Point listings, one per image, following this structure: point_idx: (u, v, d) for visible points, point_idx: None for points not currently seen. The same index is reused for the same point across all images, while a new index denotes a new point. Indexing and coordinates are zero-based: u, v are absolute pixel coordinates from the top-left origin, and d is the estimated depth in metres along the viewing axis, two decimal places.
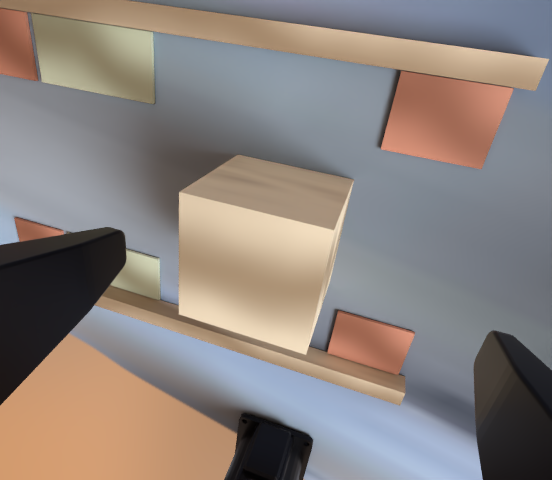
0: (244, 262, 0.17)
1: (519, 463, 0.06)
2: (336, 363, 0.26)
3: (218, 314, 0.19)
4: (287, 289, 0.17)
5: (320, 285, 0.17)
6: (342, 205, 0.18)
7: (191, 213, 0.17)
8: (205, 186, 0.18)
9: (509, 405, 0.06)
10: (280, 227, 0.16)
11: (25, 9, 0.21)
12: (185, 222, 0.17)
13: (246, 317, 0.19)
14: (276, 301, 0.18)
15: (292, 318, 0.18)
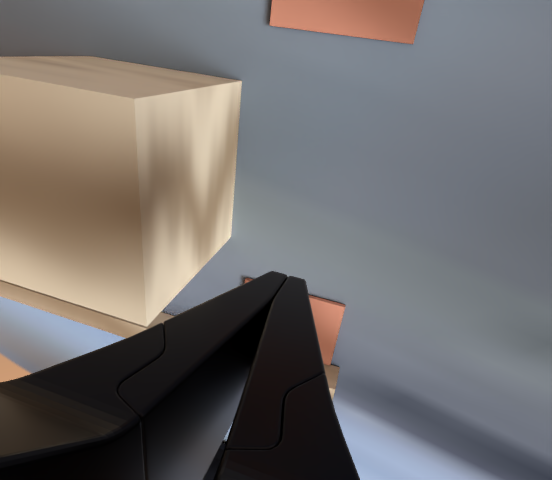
0: (29, 176, 0.11)
1: None
2: None
3: (21, 268, 0.13)
4: (96, 218, 0.11)
5: (139, 206, 0.10)
6: (189, 88, 0.11)
7: None
8: None
9: None
10: (58, 105, 0.10)
11: None
12: None
13: (56, 270, 0.12)
14: (87, 240, 0.11)
15: (114, 266, 0.11)
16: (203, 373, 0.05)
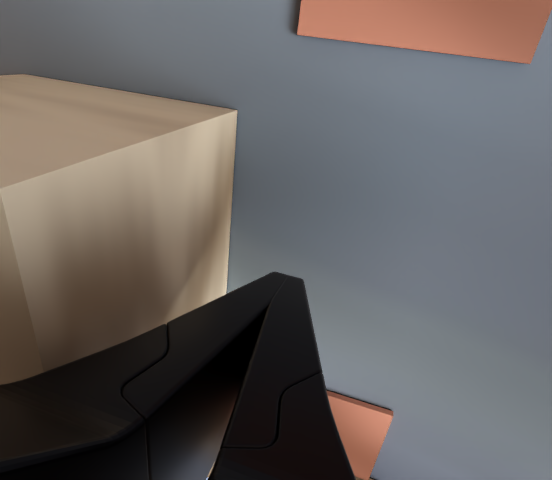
0: None
1: None
2: None
3: None
4: None
5: (41, 370, 0.05)
6: (143, 139, 0.07)
7: None
8: None
9: None
10: None
11: None
12: None
13: None
14: None
15: None
16: (206, 374, 0.05)
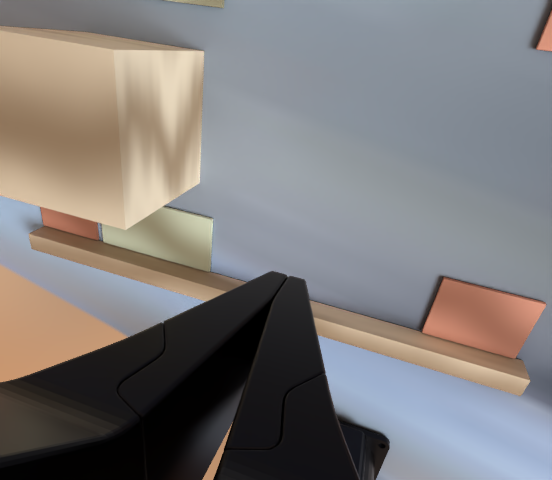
0: (38, 111, 0.15)
1: None
2: (435, 344, 0.21)
3: (31, 188, 0.17)
4: (87, 142, 0.15)
5: (118, 131, 0.14)
6: (157, 50, 0.15)
7: None
8: None
9: None
10: (61, 56, 0.14)
11: None
12: None
13: (57, 188, 0.16)
14: (81, 160, 0.15)
15: (101, 181, 0.16)
16: (203, 373, 0.05)
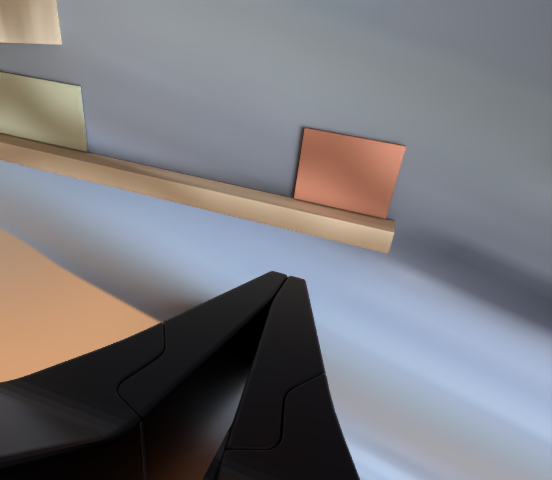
0: None
1: None
2: (304, 206, 0.20)
3: None
4: None
5: None
6: None
7: None
8: None
9: None
10: None
11: None
12: None
13: None
14: None
15: None
16: (203, 373, 0.05)
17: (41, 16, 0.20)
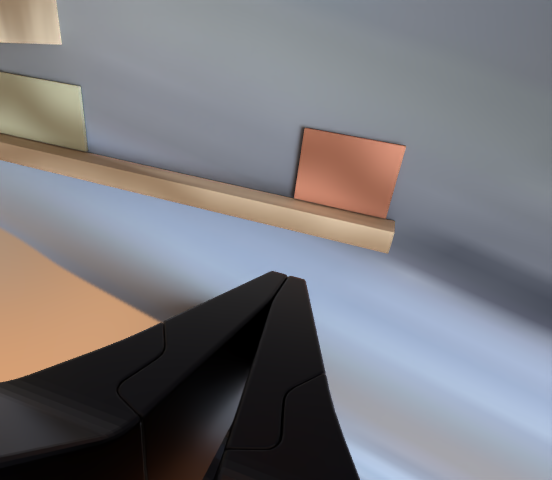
0: None
1: None
2: (304, 206, 0.20)
3: None
4: None
5: None
6: None
7: None
8: None
9: None
10: None
11: None
12: None
13: None
14: None
15: None
16: (203, 373, 0.05)
17: (41, 16, 0.20)
